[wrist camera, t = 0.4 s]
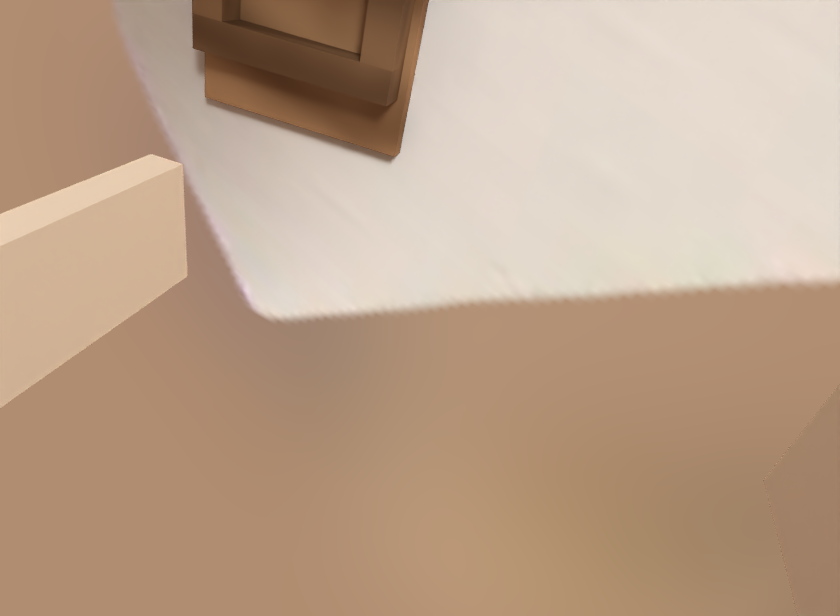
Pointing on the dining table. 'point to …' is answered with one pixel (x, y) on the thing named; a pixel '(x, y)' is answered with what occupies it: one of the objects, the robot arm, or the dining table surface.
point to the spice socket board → (310, 95)
